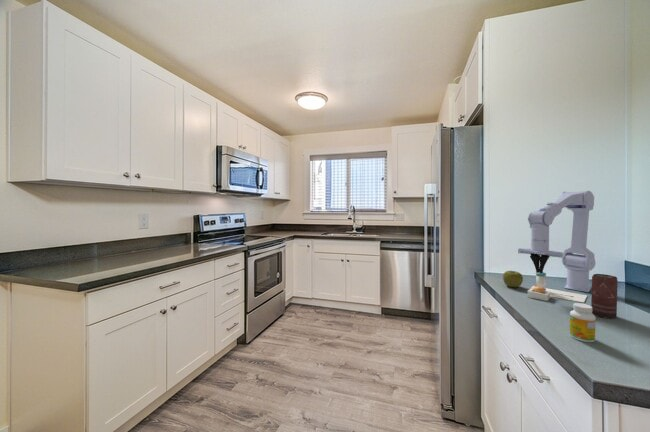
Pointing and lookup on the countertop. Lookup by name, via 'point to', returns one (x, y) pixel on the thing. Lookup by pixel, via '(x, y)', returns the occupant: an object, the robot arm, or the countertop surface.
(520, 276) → the apple
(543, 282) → the marker
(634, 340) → the countertop surface
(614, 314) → the can
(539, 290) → the button
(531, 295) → the button housing
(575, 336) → the supplement bottle
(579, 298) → the paper
